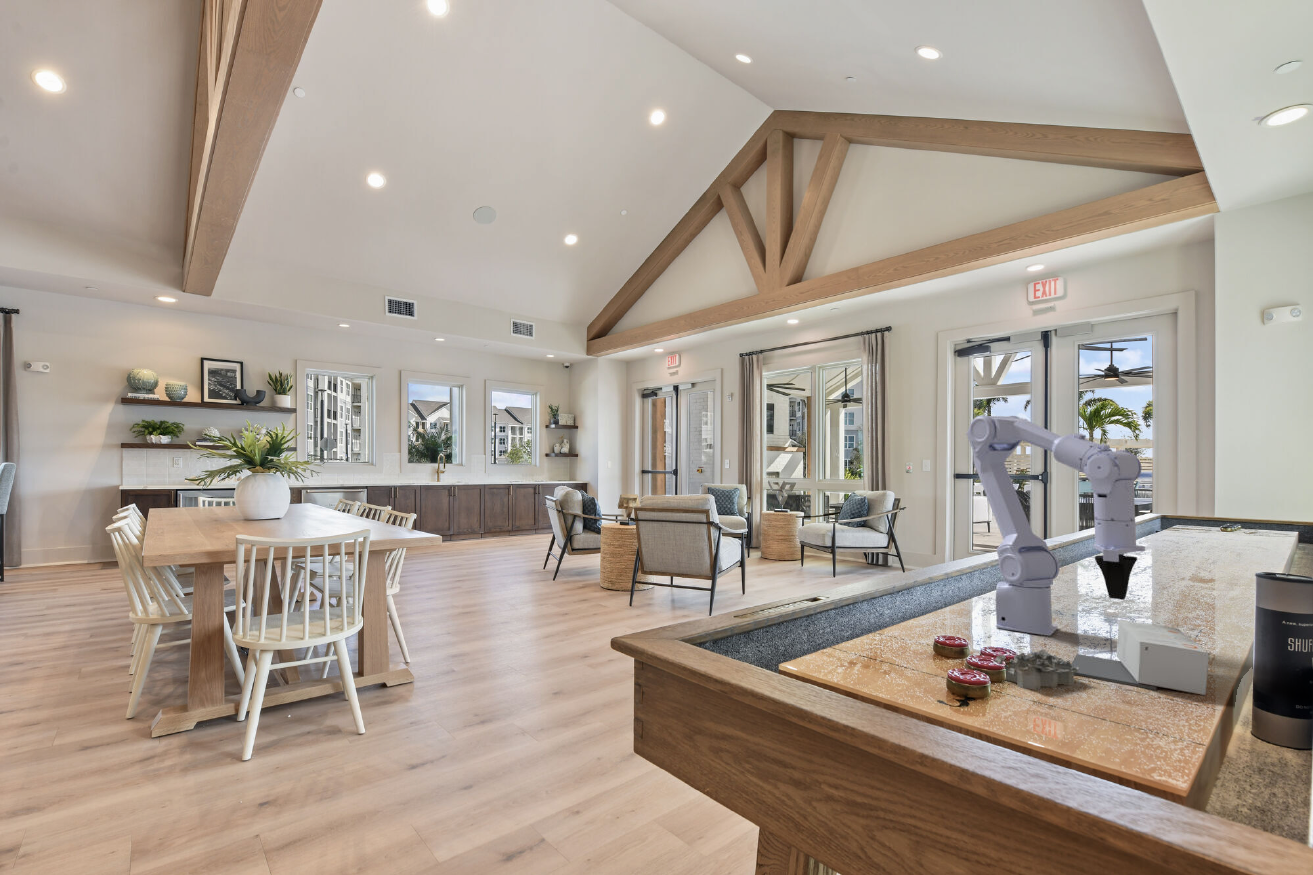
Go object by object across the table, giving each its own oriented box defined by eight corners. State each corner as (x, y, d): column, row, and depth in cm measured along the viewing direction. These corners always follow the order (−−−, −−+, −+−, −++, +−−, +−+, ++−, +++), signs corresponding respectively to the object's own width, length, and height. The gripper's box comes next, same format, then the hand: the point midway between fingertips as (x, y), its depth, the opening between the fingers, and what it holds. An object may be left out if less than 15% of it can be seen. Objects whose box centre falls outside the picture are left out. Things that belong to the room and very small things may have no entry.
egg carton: (1026, 693, 90) (1025, 665, 90) (990, 676, 97) (989, 650, 97) (1085, 686, 92) (1084, 659, 92) (1045, 670, 99) (1044, 645, 99)
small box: (1115, 656, 102) (1136, 683, 91) (1118, 618, 102) (1139, 640, 91) (1177, 667, 99) (1206, 696, 87) (1179, 628, 99) (1209, 652, 87)
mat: (1066, 673, 97) (1066, 670, 97) (1077, 656, 105) (1077, 654, 105) (1156, 689, 90) (1156, 687, 90) (1159, 670, 98) (1159, 667, 98)
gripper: (1140, 524, 99) (1143, 609, 98) (1147, 517, 109) (1150, 594, 109) (1086, 522, 103) (1089, 602, 103) (1098, 515, 114) (1101, 589, 114)
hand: (1117, 598), depth 106 cm, fingers closed
